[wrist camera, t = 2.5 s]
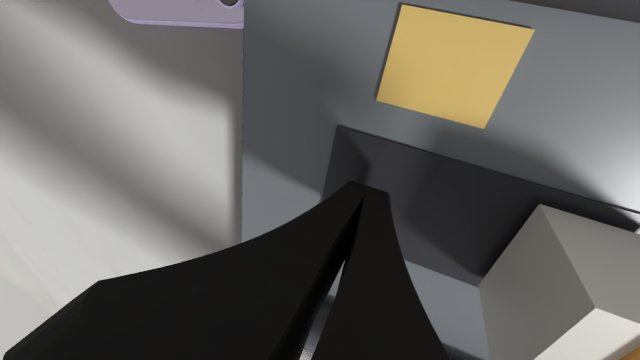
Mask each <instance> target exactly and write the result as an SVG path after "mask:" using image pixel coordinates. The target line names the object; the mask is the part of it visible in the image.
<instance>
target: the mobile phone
mask: <svg viewBox="0 0 640 360" xmlns="http://www.w3.org/2000/svg"><path fill="white" fill-rule="evenodd" d="M108 1H109V3H110V4H111V6H112V7H113V9H114V10H115V11H116V12H117V13H118V14H119V15H120V16H121V17H122V18H124V19H125V20H127V21H130V22H132V23H137V24H150V25H171V26H191V27H212V28H232V29H244V0H108Z"/></svg>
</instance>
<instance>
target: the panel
mask: <svg viewBox="0 0 640 360" xmlns="http://www.w3.org/2000/svg"><path fill="white" fill-rule="evenodd" d="M348 181H354V182H358V183H361V184H364V185H367V186H370V187H373V188H376V189H379V190H382V191H385V192H388V193H389V195H390V197H391V198H390V200H391V210H392V216H393V222H394V226H395V230H396V234H397V238H398V242H399V245H400V249H401V252H402V255H403V258H404V261H405V264H406V267H407V269H408V272H409V275H410V277H411V280H412V282H413V285H414V287H415V290H416V292H417V294H418V296H419V299H420V301H421V303H422V305H423V307H424V309H425V311H426V314H427V316H428V318H429V320H430V322H431V324H432V326H433V328H434V330H435V331H436V333H437V335H438V337H439V339H440V340H441V342H442V344H443V346H444V348H445V349H446V351H447V353H448V355H449V357H451V358H453V359H456V360H490V357H489V351H488V344H487V338H486V331H485V325H484V318H483V311H482V305H481V298H480V292H479V284H480V282H481V281H482V280H483V278H484V277H485V276H486V274H487V273H488V272H489V270H490V269H491V268H492V266H493V265H494V264H495V262H496V261H497V260H498V258H499V257H500V256H501V254H502V253H503V252H504V250H505V249H506V248H507V246H508V245H509V244H510V242H511V241H512V240H513V238H514V237H515V236H516V234H517V233H518V232H519V230H520V229H521V228H522V226H523V225H524V224H525V222H526V221H527V220H528V218H529V217H530V216H531V214H532V213H533V212H534V210H535V209H536V208H537V206H538V205H539V204H542V205H545V206H548V207H551V208H555V209H558V210H561V211H565V212H568V213H571V214H574V215H578V216H581V217H584V218H588V219H591V220H594V221H597V222H601V223H604V224H607V225H610V226H614V227H617V228H620V229H624V230H627V231H630V232H633V233H637V234H640V23H636V22H630V21H625V20H619V19H613V18H607V17H601V16H596V15H590V14H584V13H578V12H573V11H567V10H561V9H555V8H550V7H544V6H538V5H532V4H527V3H521V2H515V1H509V0H244V38H243V135H242V233H241V243H243V242H245V241H248V240H250V239H253V238H255V237H258V236H260V235H262V234H264V233H267V232H269V231H271V230H273V229H275V228H277V227H279V226H281V225H283V224H285V223H287V222H289V221H291V220H292V219H294V218H296V217H298V216H299V215H301V214H303V213H304V212H306V211H308V210H310V209H311V208H313V207H314V206H316V205H317V204H319V203H320V202H322V201H323V200H325V199H326V198H327V197H329V196H330V195H332V194H333V193H334V192H336V191H337V190H338V189H339V188H341V187H342V186H343V185H344V184H345V183H346V182H348ZM344 262H345V261H344ZM343 266H344V263H343V265H342V267H341V269H340V271H339V273H338V275H337V277H336V279H335V281H334V283H333V285H332V287H331V289H330V291H329V293H328V295H327V297H326V299H325V301H324V303H326V304H328V305H331V306H332V304H333V302H334V299H335V296H336V293H337V289H338V285H339V281H340V277H341V274H342V270H343Z"/></svg>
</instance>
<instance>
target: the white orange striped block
mask: <svg viewBox="0 0 640 360" xmlns="http://www.w3.org/2000/svg"><path fill="white" fill-rule="evenodd" d="M479 292H480V298H481V305H482V311H483V318H484V325H485V331H486V338H487V344H488V351H489V357H490V360H640V234H637V233H633V232H630V231H627V230H624V229H620V228H617V227H614V226H610V225H607V224H604V223H601V222H597V221H594V220H591V219H588V218H584V217H581V216H578V215H574V214H571V213H568V212H565V211H561V210H558V209H555V208H551V207H548V206H545V205H542V204H539V205H538V206H537V208H536V209H535V210H534V212H533V213H532V214H531V216H530V217H529V218H528V220H527V221H526V222H525V224H524V225H523V226H522V228H521V229H520V230H519V232H518V233H517V234H516V236H515V237H514V238H513V240H512V241H511V242H510V244H509V245H508V246H507V248H506V249H505V250H504V252H503V253H502V254H501V256H500V257H499V258H498V260H497V261H496V262H495V264H494V265H493V266H492V268H491V269H490V270H489V272H488V273H487V274H486V276H485V277H484V278H483V280H482V281H481V282H480V284H479Z"/></svg>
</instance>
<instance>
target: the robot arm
mask: <svg viewBox="0 0 640 360" xmlns="http://www.w3.org/2000/svg"><path fill="white" fill-rule="evenodd" d="M390 198H391V197H390V195H389V193H388V192H385V191H382V190H379V189H376V188H373V187H370V186H367V185H364V184H361V183H358V182H354V181H348V182H346V183H345V184H344V185H343V186H342V187H341V188H339V189H338V190H337V191H336V192H334V193H333V194H332V195H330V196H329V197H327V198H326V199H325V200H323V201H322V202H320V203H319V204H317V205H316V206H314V207H313V208H311V209H310V210H308V211H306V212H304V213H303V214H301V215H299V216H298V217H296V218H294V219H292V220H291V221H289V222H287V223H285V224H283V225H281V226H279V227H277V228H275V229H273V230H271V231H269V232H267V233H264V234H262V235H260V236H258V237H255V238H253V239H250V240H248V241H245V242H243V243H240V244H238V245H235V246H232V247H230V248H227V249H224V250H221V251H218V252H215V253H211V254H208V255H205V256H202V257H198V258H195V259H192V260H188V261H184V262H181V263H177V264H173V265H169V266H165V267H161V268H157V269H152V270H147V271H143V272H138V273H134V274H129V275H124V276H120V277H115V278H110V279H105V280H100V281H98V282H96V283H95V284H93V285H92V286H91V287H89V288H88V289H86V290H85V291H84V292H82V293H81V294H80V295H78V296H77V297H76V298H74V299H73V300H72V301H71V302H69V303H68V304H67V305H65V306H64V307H63V308H62V309H60V310H59V311H58V312H57V313H55V314H54V315H53V316H51V317H50V318H49V319H48V320H46V321H45V322H44V323H43V324H41V325H40V326H39V327H37V328H36V329H35V330H34V331H32V332H31V333H30V334H29V335H27V336H26V337H25V338H23V339H22V340H21V341H20V342H18V343H17V344H16V345H15V346H13V347H12V348H11V349H9V350H8V351H7V352H6V353H5V355H4V357H3V360H299V359H300V356H301V354H302V351H303V348H304V346H305V343H306V341H307V338H308V336H309V333H310V331H311V328H312V326H313V324H314V322H315V319H316V317H317V315H318V313H319V311H320V309H321V307H322V305H323V303H324V301H325V299H326V297H327V295H328V293H329V291H330V289H331V287H332V285H333V283H334V281H335V279H336V277H337V275H338V273H339V271H340V269H341V267H342V265H343V263H344V266H343V270H342V274H341V277H340V281H339V285H338V289H337V293H336V296H335V299H334V302H333V304H332V307H331V309H330V312H329V315H328V317H327V320H326V322H325V325H324V328H323V330H322V333H321V336H320V338H319V341H318V343H317V346H316V349H315V351H314V354H313V356H312V359H311V360H451V358H450V357H449V355H448V353H447V351H446V349H445V348H444V346H443V344H442V342H441V340H440V339H439V337H438V335H437V333H436V331H435V330H434V328H433V326H432V324H431V322H430V320H429V318H428V316H427V314H426V311H425V309H424V307H423V305H422V303H421V301H420V299H419V296H418V294H417V292H416V290H415V287H414V285H413V282H412V280H411V277H410V275H409V272H408V269H407V267H406V264H405V261H404V258H403V255H402V252H401V249H400V245H399V242H398V238H397V234H396V230H395V226H394V222H393V216H392V210H391V200H390ZM344 261H345V262H344Z"/></svg>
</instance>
